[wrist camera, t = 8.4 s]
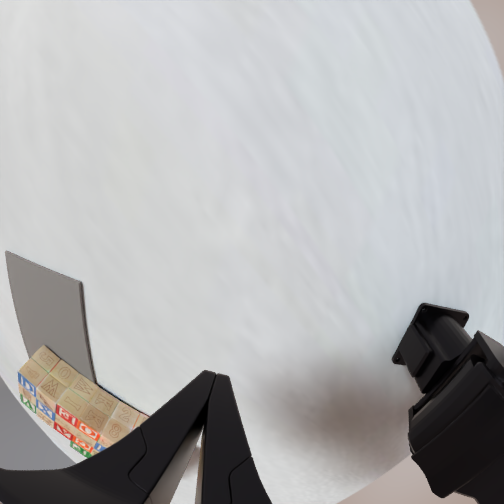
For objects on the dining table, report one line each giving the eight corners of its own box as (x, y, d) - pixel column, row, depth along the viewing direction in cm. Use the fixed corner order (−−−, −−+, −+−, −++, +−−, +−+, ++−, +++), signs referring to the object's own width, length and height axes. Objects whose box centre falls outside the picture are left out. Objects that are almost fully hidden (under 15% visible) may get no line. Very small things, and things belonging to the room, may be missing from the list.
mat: (80, 281, 24) (78, 283, 23) (105, 421, 32) (104, 423, 31) (7, 250, 24) (4, 251, 23) (41, 386, 32) (40, 387, 32)
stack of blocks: (43, 342, 27) (40, 385, 31) (16, 370, 21) (20, 409, 25) (184, 434, 30) (153, 458, 34) (172, 472, 24) (143, 488, 28)
